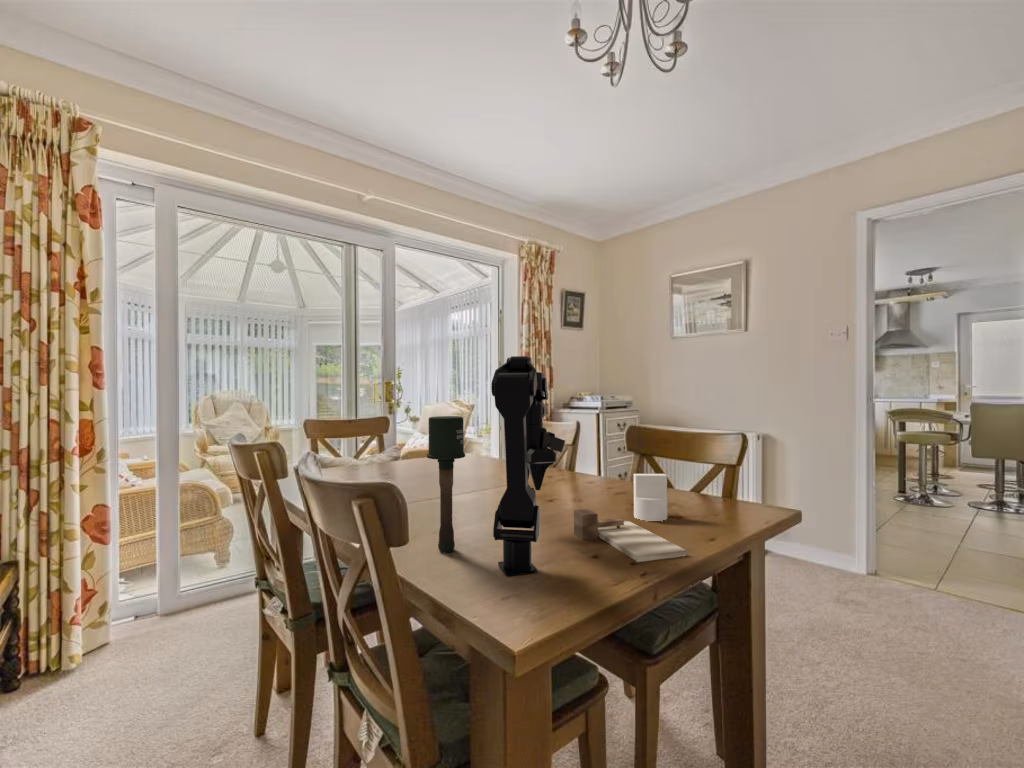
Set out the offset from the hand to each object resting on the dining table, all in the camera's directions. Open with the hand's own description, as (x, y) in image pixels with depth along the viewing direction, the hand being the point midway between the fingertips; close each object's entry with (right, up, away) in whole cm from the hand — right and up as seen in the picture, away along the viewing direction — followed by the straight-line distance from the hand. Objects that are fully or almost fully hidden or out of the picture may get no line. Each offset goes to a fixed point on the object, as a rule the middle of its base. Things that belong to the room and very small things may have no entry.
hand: (531, 486), depth 116 cm
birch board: (+24, -12, -6) cm, 27 cm away
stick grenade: (-20, -12, -11) cm, 26 cm away
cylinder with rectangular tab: (+34, -12, +15) cm, 39 cm away
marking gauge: (+17, -12, 0) cm, 21 cm away
